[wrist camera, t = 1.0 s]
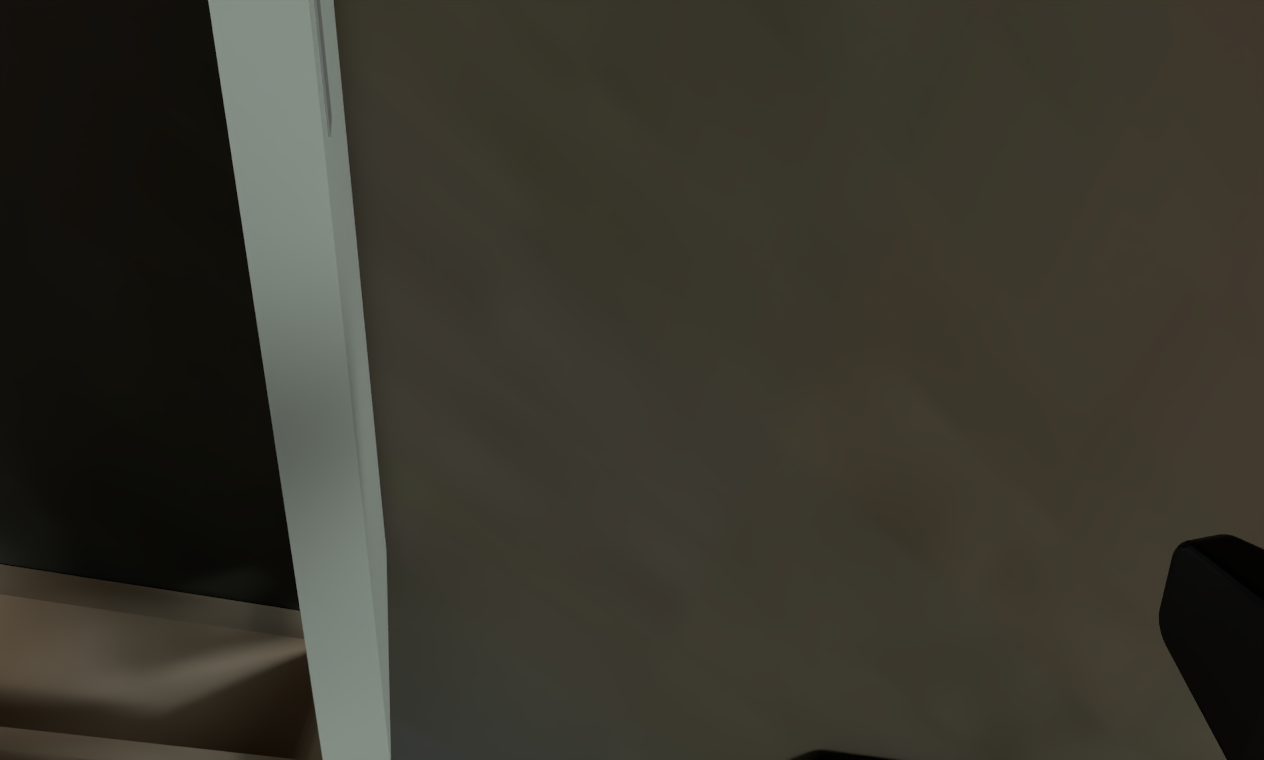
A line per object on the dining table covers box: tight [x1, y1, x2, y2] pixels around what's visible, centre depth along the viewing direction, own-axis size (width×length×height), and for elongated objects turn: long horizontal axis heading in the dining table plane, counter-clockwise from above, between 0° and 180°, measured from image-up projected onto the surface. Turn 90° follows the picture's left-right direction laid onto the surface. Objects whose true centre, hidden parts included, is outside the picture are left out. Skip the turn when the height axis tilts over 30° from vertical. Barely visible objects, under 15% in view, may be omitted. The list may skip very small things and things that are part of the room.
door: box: [208, 0, 391, 760], centre depth 17 cm, size 15×1×6 cm, turn 178°
